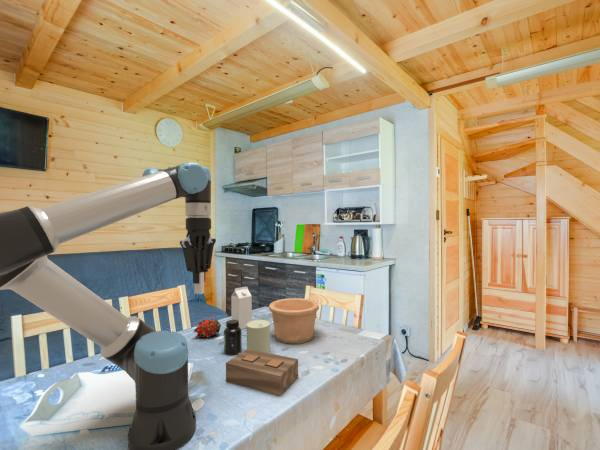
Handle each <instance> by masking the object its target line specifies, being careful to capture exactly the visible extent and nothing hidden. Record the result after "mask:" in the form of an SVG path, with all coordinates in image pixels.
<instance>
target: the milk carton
mask: <svg viewBox="0 0 600 450" xmlns="http://www.w3.org/2000/svg"><path fill="white" fill-rule="evenodd" d="M230 298H231V299H230V300H231V301H230V303H231V305H230V306H231V308H230V309H231V312H230V313H231V320H238V321H239V326H238V327H240V328H241V330H244V329H247V327H246V324H247V323H248V322H251V321H253V316H252V315H253V312H252V311H253V305H252V303H253V302H252V294H251V292H250V291H249V287H248V286H243V287H242V286H241V287H236V288H234V292H233V293H232V294H231V297H230Z"/></svg>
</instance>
